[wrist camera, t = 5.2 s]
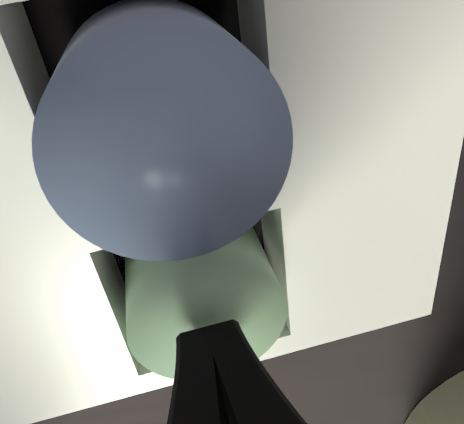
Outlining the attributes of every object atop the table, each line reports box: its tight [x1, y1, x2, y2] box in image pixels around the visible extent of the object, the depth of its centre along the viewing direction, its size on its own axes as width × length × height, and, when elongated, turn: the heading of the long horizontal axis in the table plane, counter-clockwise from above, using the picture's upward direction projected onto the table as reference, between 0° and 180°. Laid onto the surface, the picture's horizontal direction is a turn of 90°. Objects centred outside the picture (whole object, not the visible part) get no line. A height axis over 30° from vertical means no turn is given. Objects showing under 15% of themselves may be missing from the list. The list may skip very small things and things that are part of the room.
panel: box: [0, 0, 464, 424], centre depth 10 cm, size 17×14×2 cm
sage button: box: [125, 227, 287, 379], centre depth 12 cm, size 4×4×3 cm
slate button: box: [32, 0, 293, 261], centre depth 8 cm, size 4×4×3 cm
